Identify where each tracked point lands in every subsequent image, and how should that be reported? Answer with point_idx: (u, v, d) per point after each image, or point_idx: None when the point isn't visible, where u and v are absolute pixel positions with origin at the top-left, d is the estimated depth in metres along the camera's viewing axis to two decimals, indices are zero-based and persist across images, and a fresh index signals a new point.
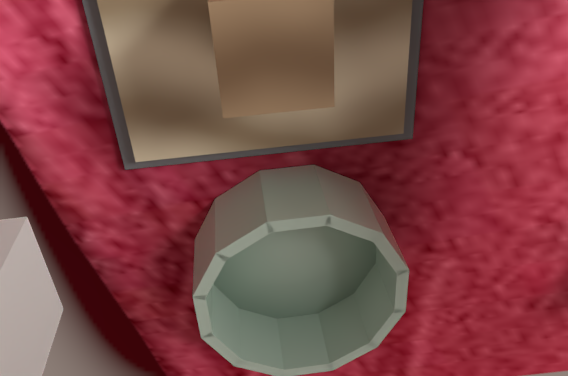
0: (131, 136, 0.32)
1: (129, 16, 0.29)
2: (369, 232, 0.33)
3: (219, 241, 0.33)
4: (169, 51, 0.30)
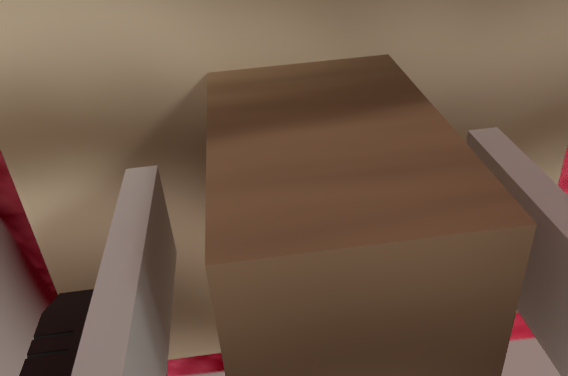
0: None
1: (60, 161, 0.15)
2: None
3: None
4: None
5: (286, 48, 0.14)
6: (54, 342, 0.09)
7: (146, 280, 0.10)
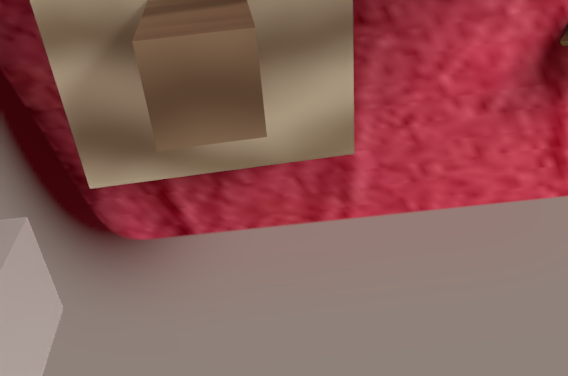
0: (83, 164, 0.33)
1: (73, 48, 0.29)
2: None
3: None
4: (116, 81, 0.30)
5: None
6: None
7: None
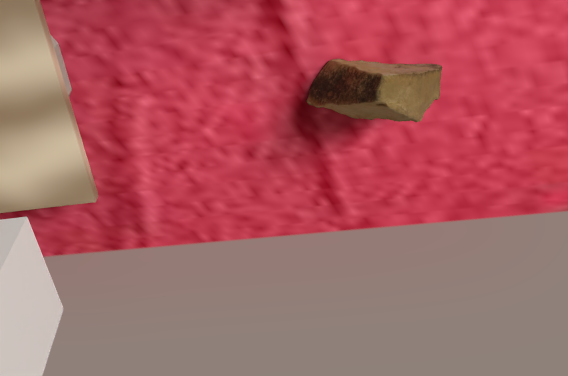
0: None
1: None
2: None
3: None
4: None
5: None
6: None
7: None
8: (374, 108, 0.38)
